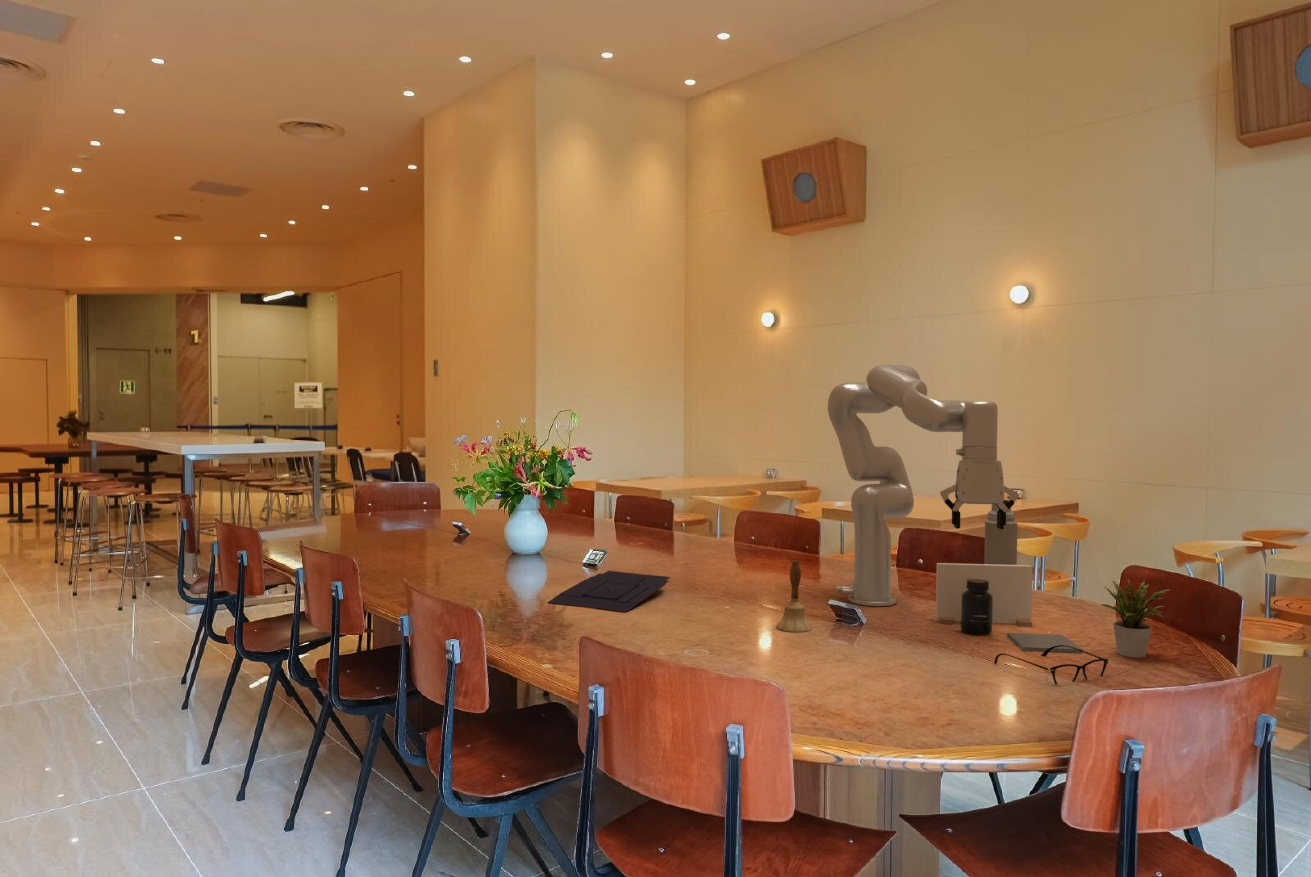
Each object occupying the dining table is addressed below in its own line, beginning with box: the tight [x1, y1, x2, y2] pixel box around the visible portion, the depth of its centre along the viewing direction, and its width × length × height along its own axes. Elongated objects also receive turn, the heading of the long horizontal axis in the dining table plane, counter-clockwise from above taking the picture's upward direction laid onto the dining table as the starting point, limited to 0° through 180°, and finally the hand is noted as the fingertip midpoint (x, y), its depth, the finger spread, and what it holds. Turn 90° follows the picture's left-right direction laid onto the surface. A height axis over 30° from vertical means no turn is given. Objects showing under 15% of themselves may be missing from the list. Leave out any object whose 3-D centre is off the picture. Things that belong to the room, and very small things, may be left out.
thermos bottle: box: [983, 499, 1018, 565], centre depth 224 cm, size 8×8×28 cm
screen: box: [935, 562, 1033, 627], centre depth 207 cm, size 22×6×14 cm, turn 83°
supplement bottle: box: [960, 579, 993, 636], centre depth 197 cm, size 7×7×12 cm
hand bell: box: [775, 560, 813, 633], centre depth 200 cm, size 8×8×16 cm
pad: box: [1006, 632, 1083, 654], centre depth 187 cm, size 12×12×1 cm
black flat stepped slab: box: [547, 570, 671, 613], centre depth 233 cm, size 24×30×4 cm
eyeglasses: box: [993, 645, 1110, 685], centre depth 169 cm, size 16×16×4 cm
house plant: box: [1099, 576, 1174, 659], centre depth 178 cm, size 14×14×16 cm
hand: (978, 528), depth 197 cm, fingers open, 9 cm apart
